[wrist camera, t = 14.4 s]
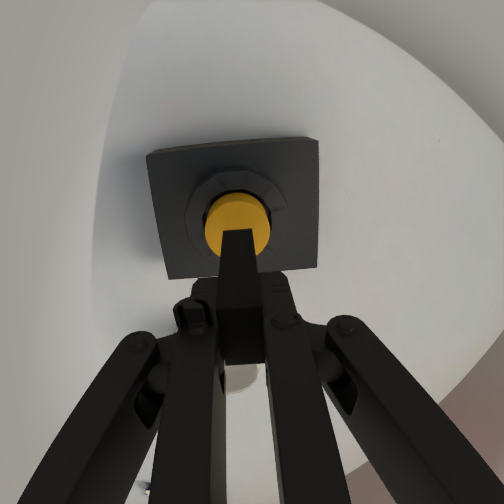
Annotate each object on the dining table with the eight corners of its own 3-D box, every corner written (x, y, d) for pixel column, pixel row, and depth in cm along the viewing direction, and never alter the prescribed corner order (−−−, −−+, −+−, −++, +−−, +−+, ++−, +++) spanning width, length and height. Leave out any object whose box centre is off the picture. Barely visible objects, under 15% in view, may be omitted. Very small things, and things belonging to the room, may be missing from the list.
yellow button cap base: (175, 261, 26) (164, 292, 22) (156, 149, 22) (137, 159, 17) (308, 250, 26) (322, 279, 22) (307, 136, 22) (326, 143, 17)
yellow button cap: (211, 250, 21) (208, 264, 19) (204, 195, 19) (200, 204, 17) (268, 245, 21) (271, 259, 19) (265, 190, 19) (268, 198, 17)
